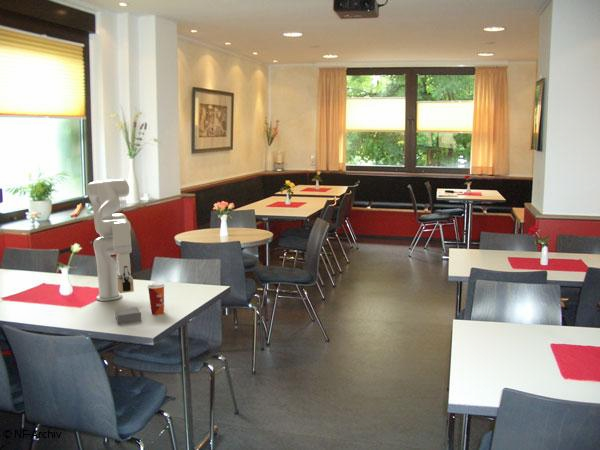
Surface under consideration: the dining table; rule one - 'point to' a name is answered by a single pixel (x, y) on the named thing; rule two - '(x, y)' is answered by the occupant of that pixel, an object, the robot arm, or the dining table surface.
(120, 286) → the oak cube
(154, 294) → the paper cup
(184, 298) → the dining table surface
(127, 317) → the slate pedestal
